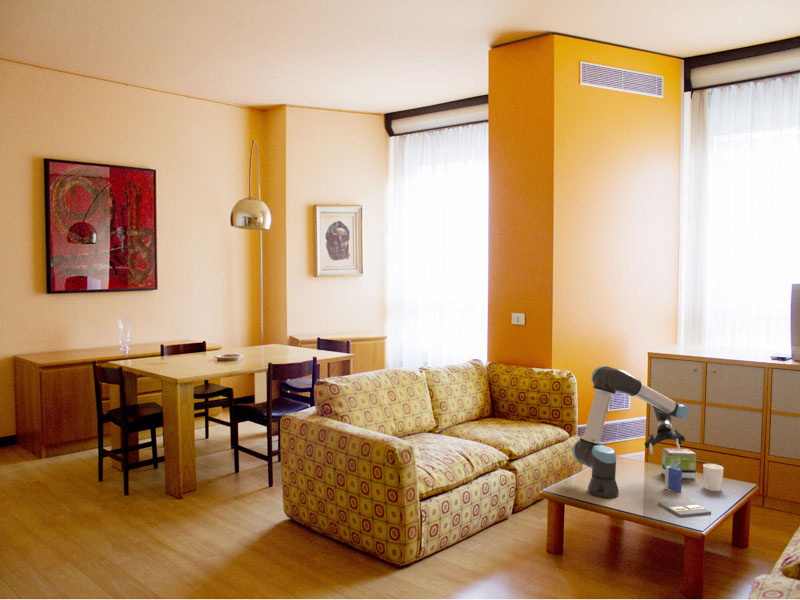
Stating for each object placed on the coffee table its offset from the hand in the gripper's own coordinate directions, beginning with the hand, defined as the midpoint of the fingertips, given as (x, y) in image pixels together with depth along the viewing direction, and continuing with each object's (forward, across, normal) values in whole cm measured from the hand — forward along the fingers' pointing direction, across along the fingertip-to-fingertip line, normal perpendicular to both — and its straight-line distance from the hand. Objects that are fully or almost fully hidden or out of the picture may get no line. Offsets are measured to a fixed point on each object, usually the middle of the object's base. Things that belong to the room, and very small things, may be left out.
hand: (664, 449), depth 314 cm
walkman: (-1, +4, -24) cm, 25 cm away
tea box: (-27, +3, -32) cm, 42 cm away
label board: (+25, -3, -19) cm, 32 cm away
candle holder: (-13, -13, -34) cm, 39 cm away
